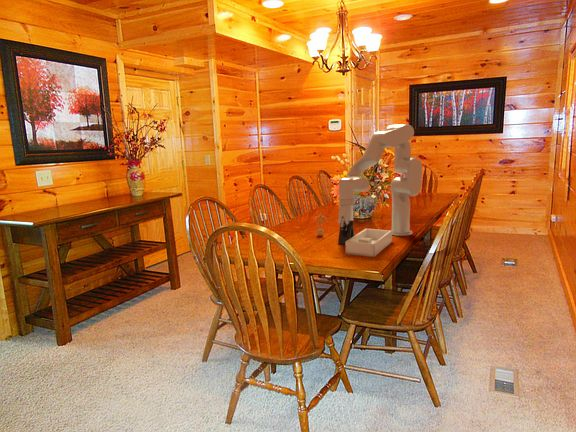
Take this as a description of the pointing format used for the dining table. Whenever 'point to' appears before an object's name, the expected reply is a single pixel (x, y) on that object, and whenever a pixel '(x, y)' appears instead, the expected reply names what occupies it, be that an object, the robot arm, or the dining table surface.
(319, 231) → the figurine
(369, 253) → the tote
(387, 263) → the dining table surface
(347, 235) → the phone stand
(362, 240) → the beige cube
